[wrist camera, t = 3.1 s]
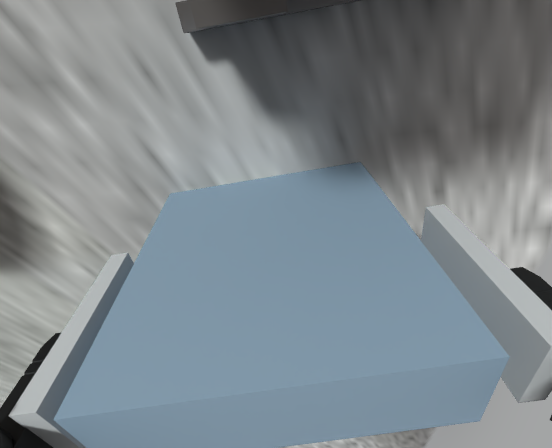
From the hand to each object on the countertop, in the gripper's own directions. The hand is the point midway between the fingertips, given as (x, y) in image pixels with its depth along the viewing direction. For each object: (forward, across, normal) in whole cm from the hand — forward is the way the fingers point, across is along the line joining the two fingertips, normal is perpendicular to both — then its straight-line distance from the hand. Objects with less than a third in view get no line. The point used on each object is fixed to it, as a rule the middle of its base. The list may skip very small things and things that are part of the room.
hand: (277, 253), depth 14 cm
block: (+5, 0, 0) cm, 5 cm away
